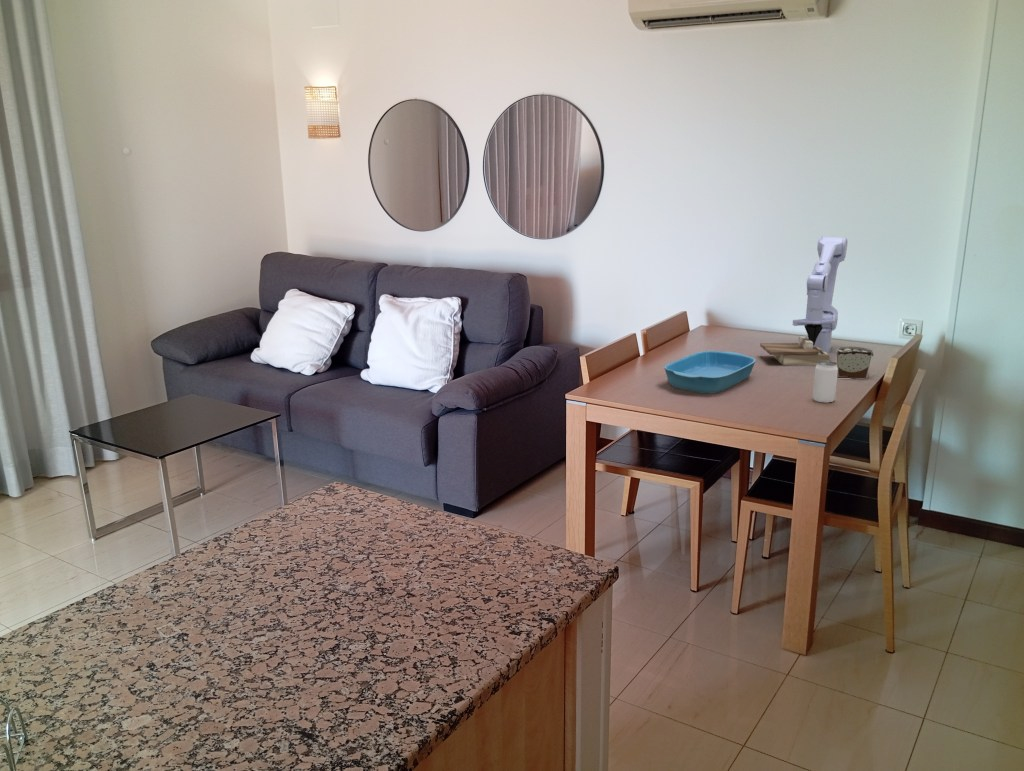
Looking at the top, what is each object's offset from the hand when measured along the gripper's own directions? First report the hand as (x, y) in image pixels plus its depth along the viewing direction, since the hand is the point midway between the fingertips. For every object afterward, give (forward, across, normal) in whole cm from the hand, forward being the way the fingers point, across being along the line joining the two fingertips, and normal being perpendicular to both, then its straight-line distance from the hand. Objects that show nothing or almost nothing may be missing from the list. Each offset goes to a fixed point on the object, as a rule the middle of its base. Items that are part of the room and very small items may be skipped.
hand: (811, 344), depth 293 cm
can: (+7, -11, -47) cm, 49 cm away
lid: (+2, -8, 0) cm, 8 cm away
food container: (+7, +7, -19) cm, 22 cm away
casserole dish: (+7, -42, -25) cm, 49 cm away
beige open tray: (+7, -4, 0) cm, 8 cm away
